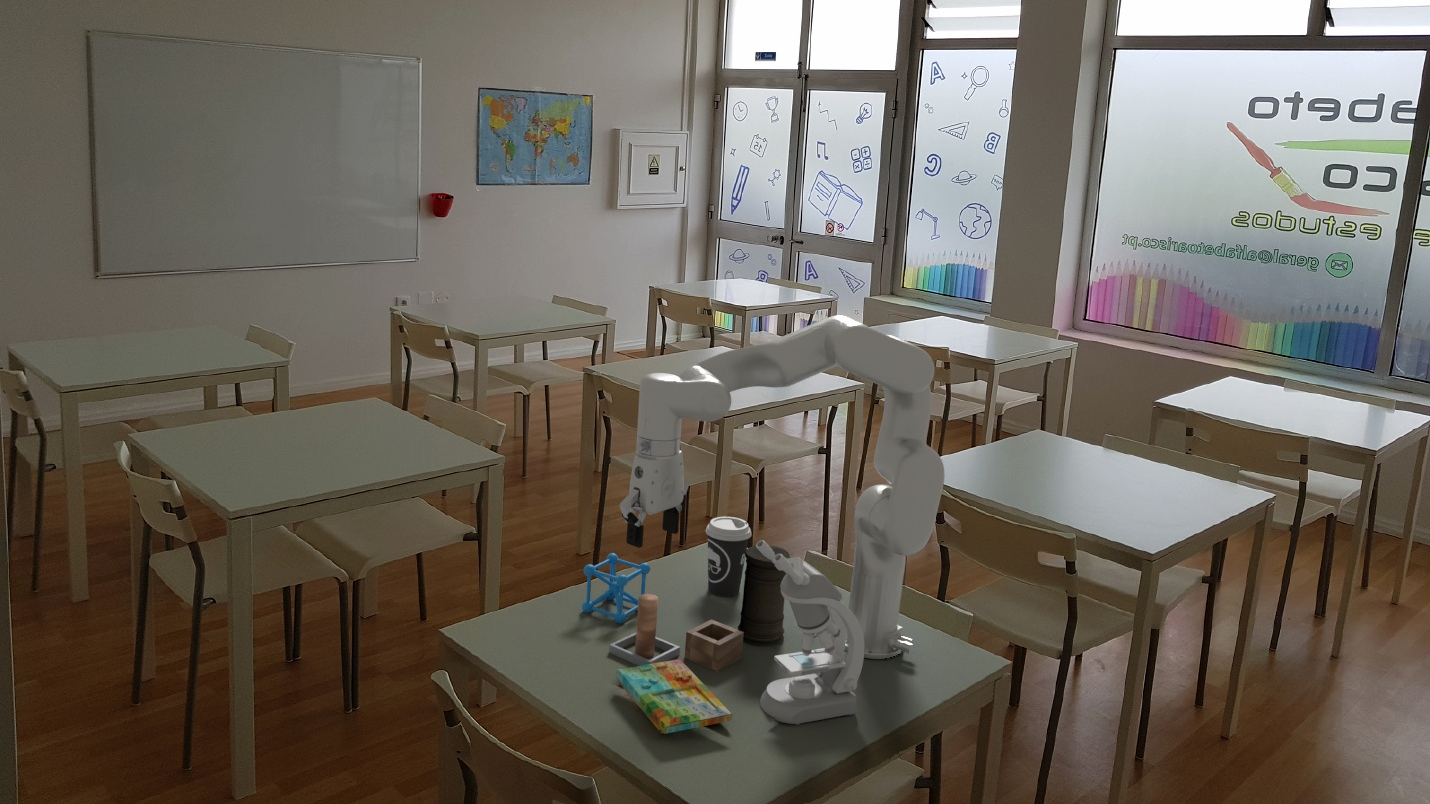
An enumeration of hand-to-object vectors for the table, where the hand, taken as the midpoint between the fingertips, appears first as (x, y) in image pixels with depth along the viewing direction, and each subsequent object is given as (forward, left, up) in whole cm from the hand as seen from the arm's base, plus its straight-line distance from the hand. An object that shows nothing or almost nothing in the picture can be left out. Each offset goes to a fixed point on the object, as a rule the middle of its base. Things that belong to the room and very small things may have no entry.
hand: (652, 538), depth 199 cm
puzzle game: (-15, +11, -24) cm, 30 cm away
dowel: (0, 0, -22) cm, 22 cm away
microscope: (-30, -5, -23) cm, 39 cm away
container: (-11, -21, -23) cm, 33 cm away
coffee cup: (+8, -35, -23) cm, 43 cm away
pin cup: (-10, -8, -23) cm, 26 cm away
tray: (0, 0, -23) cm, 23 cm away
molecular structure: (+17, -11, -23) cm, 31 cm away
